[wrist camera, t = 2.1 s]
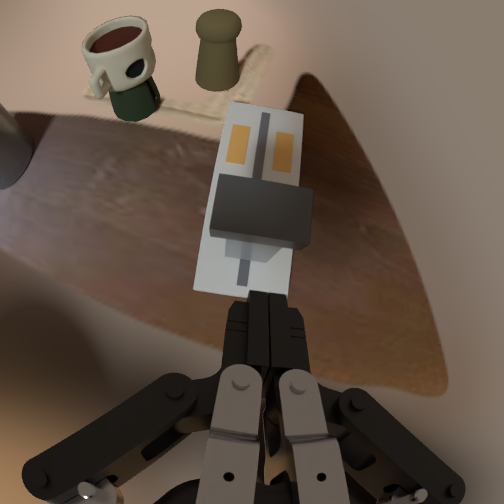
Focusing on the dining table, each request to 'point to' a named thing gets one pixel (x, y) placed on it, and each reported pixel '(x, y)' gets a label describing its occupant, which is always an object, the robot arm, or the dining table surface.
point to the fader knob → (260, 217)
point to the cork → (218, 50)
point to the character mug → (123, 66)
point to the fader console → (258, 167)
